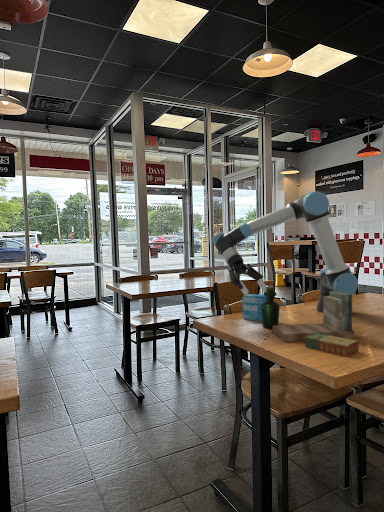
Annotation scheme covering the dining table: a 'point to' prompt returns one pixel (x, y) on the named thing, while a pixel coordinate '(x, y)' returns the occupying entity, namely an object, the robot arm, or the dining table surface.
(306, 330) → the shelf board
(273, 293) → the potion bottle
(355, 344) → the carton
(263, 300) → the data package
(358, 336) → the dining table surface
